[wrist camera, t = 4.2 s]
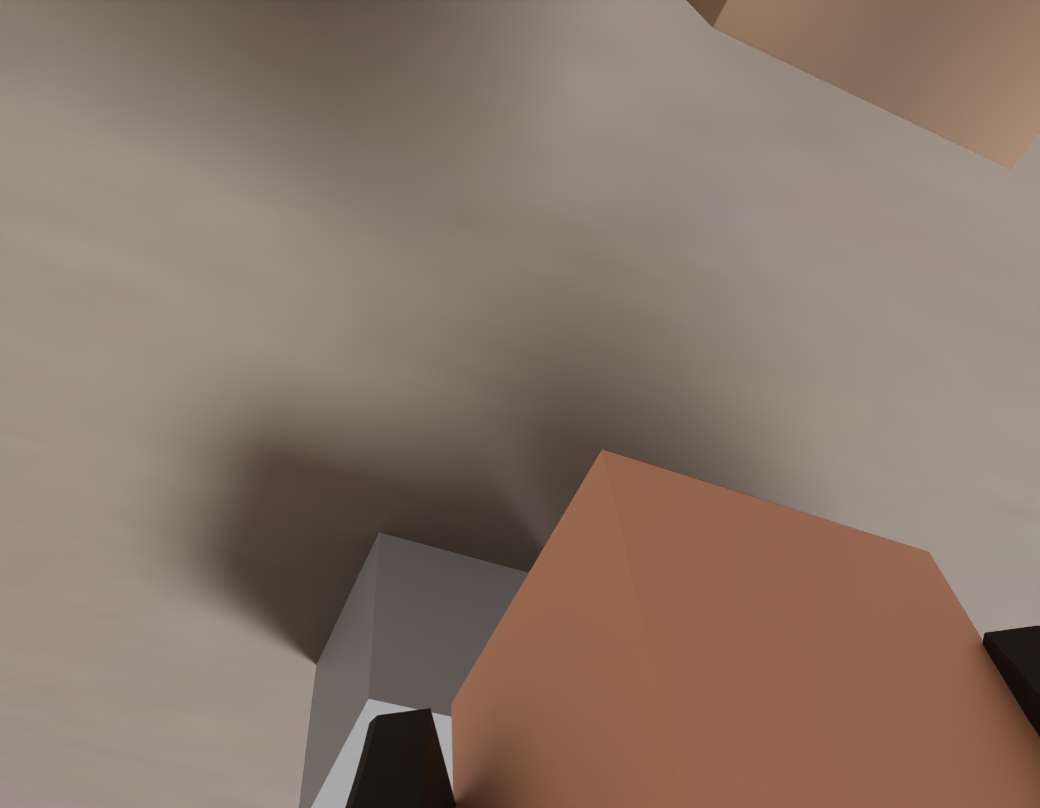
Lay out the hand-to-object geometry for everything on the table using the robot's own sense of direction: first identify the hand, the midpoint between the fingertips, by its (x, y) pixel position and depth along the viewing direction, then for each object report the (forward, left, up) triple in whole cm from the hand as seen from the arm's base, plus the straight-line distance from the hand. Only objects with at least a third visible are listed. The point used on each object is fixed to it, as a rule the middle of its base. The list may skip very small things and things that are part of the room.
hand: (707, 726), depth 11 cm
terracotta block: (0, 0, -1) cm, 1 cm away
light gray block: (+5, +7, -9) cm, 12 cm away
